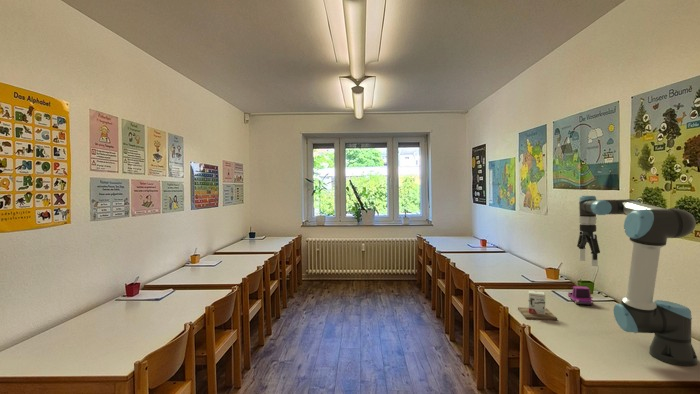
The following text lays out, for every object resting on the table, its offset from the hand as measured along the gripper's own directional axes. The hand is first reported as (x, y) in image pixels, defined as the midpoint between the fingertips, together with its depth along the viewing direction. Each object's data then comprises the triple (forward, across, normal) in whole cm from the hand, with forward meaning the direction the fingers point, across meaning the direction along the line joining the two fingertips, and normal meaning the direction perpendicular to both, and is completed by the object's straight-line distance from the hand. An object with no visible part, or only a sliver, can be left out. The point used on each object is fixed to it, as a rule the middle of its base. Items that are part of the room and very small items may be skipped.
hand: (588, 263), depth 192 cm
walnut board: (+32, +7, +24) cm, 40 cm away
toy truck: (+32, +34, -10) cm, 48 cm away
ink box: (+31, +7, +24) cm, 40 cm away
